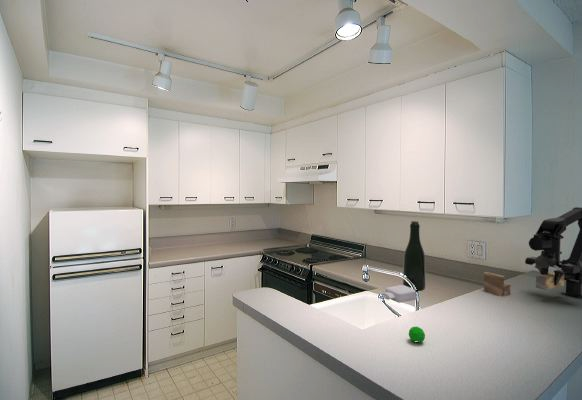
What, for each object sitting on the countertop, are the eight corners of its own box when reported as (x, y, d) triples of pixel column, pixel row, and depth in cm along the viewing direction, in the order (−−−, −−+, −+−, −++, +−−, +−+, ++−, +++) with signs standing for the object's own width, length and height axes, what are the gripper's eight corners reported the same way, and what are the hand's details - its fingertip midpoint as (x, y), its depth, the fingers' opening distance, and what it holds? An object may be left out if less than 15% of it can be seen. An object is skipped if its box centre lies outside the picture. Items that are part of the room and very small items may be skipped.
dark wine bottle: (415, 283, 167) (416, 219, 165) (430, 290, 157) (431, 222, 155) (398, 286, 164) (399, 220, 162) (412, 292, 154) (412, 223, 152)
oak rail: (554, 283, 149) (555, 272, 148) (563, 285, 145) (564, 274, 145) (535, 287, 143) (536, 276, 143) (544, 289, 140) (545, 278, 139)
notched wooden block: (491, 288, 159) (491, 270, 158) (510, 294, 151) (510, 275, 150) (482, 290, 156) (483, 272, 156) (501, 296, 148) (501, 277, 148)
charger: (375, 299, 147) (400, 294, 153) (389, 306, 139) (415, 300, 145) (375, 288, 147) (400, 284, 153) (389, 295, 138) (415, 289, 145)
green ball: (405, 339, 109) (405, 325, 109) (416, 336, 111) (416, 323, 110) (416, 346, 104) (416, 332, 104) (428, 343, 106) (428, 329, 106)
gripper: (517, 246, 149) (516, 280, 149) (566, 255, 132) (564, 293, 132) (533, 244, 153) (532, 277, 154) (581, 252, 136) (580, 289, 137)
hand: (550, 283), depth 144 cm, fingers closed on oak rail, 3 cm apart
